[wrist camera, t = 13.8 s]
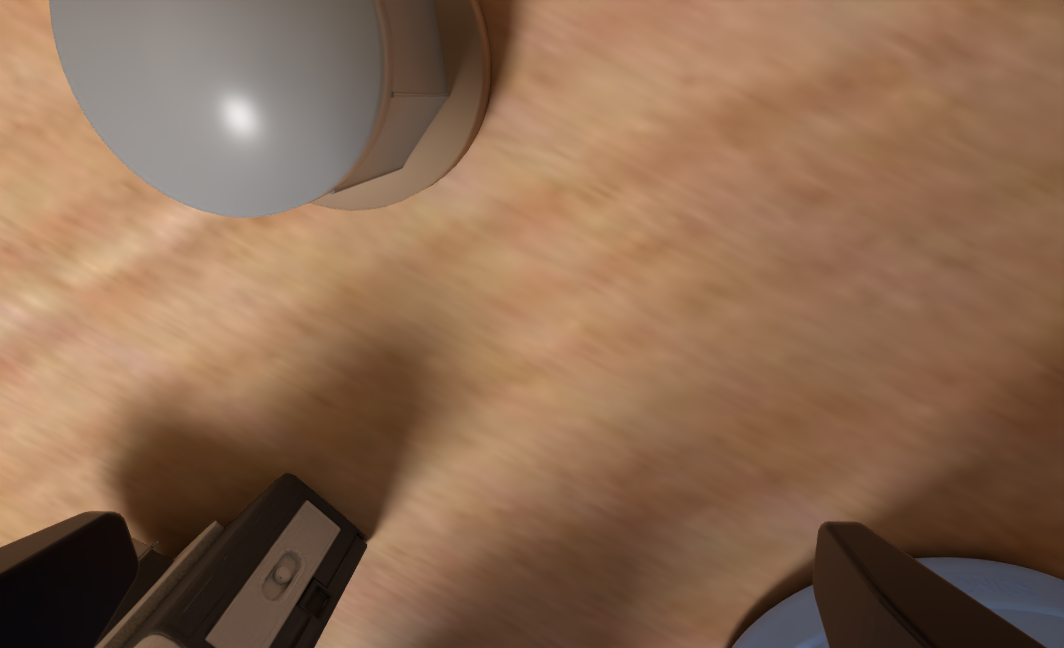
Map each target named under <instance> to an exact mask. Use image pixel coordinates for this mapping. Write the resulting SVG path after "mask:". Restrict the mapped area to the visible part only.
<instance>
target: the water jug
mask: <svg viewBox="0 0 1064 648" xmlns="http://www.w3.org/2000/svg"><path fill="white" fill-rule="evenodd" d="M914 559H916V560H917V561H918V562H920V563H921V564H923V565H924V566H926V567H927V568H929V569H930V570H932V571H933V572H935V573H936V574H938V575H939V576H941V577H942V578H944V579H945V580H947V581H948V582H950V583H951V584H953V585H954V586H956V587H957V588H959V589H960V590H962V591H963V592H965V593H966V594H968V595H969V596H971V597H972V598H974V599H975V600H977V601H978V602H980V603H981V604H983V605H984V606H986V607H987V608H989V609H990V610H992V611H993V612H995V613H996V614H998V615H999V616H1001V617H1002V618H1004V619H1005V620H1007V621H1008V622H1010V623H1011V624H1013V625H1014V626H1016V627H1017V628H1019V629H1020V630H1021V631H1023V632H1024V633H1026V634H1027V635H1029V636H1030V637H1032V638H1033V639H1035V640H1036V641H1038V642H1039V643H1041V644H1042V645H1044V646H1045V647H1047V648H1064V580H1061V579H1059V578H1056V577H1054V576H1051V575H1048V574H1045V573H1042V572H1039V571H1036V570H1032V569H1029V568H1025V567H1021V566H1017V565H1012V564H1008V563H1002V562H996V561H990V560H982V559H972V558H956V557H931V558H914ZM732 648H829V644H828V641H827V638H826V634H825V631H824V627H823V624H822V621H821V617H820V614H819V610H818V607H817V604H816V600H815V596H814V591H813V585H811V586H808V587H806V588H804V589H802V590H800V591H799V592H797V593H795V594H793V595H791V596H790V597H788V598H786V599H785V600H783V601H782V602H780V603H778V604H777V605H776V606H774V607H773V608H771V609H770V610H769V611H767V612H766V613H765V614H763V615H762V616H761V617H760V618H759V619H758V620H756V621H755V622H754V623H753V624H752V625H751V626H750V627H749V628H748V629H747V630H746V631H745V632H744V633H743V634H742V635H741V636H740V638H739V639H738V640H737V641H736V642H735V644H734V645H733V646H732Z"/></svg>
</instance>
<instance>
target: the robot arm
mask: <svg viewBox="0 0 1064 648" xmlns="http://www.w3.org/2000/svg"><path fill="white" fill-rule="evenodd" d="M138 571H139V558H138V555H137V552H136V550H135V547H134V544H133V541H132V538H131V535H130V533H129V530H128V527H127V524H126V521H125V519H124V518H123V517H122V516H121V515H120V514H119V513H116V512H112V511H89V512H84V513H81V514H79V515H76V516H74V517H71V518H69V519H67V520H64V521H62V522H60V523H57V524H55V525H52V526H50V527H48V528H45V529H43V530H41V531H38V532H36V533H33V534H31V535H29V536H26V537H24V538H22V539H19V540H17V541H14V542H12V543H10V544H7V545H5V546H3V547H0V648H95V646H96V644H97V643H98V641H99V639H100V638H101V636H102V634H103V633H104V631H105V630H106V628H107V626H108V625H109V623H110V621H111V620H112V618H113V616H114V615H115V613H116V611H117V610H118V608H119V606H120V605H121V603H122V601H123V600H124V598H125V596H126V595H127V593H128V592H129V590H130V588H131V587H132V585H133V583H134V581H135V580H136V577H137V575H138ZM813 591H814V596H815V600H816V604H817V607H818V610H819V614H820V617H821V621H822V624H823V627H824V631H825V634H826V638H827V641H828V644H829V648H1047V647H1045V646H1044V645H1042V644H1041V643H1039V642H1038V641H1036V640H1035V639H1033V638H1032V637H1030V636H1029V635H1027V634H1026V633H1024V632H1023V631H1021V630H1020V629H1019V628H1017V627H1016V626H1014V625H1013V624H1011V623H1010V622H1008V621H1007V620H1005V619H1004V618H1002V617H1001V616H999V615H998V614H996V613H995V612H993V611H992V610H990V609H989V608H987V607H986V606H984V605H983V604H981V603H980V602H978V601H977V600H975V599H974V598H972V597H971V596H969V595H968V594H966V593H965V592H963V591H962V590H960V589H959V588H957V587H956V586H954V585H953V584H951V583H950V582H948V581H947V580H945V579H944V578H942V577H941V576H939V575H938V574H936V573H935V572H933V571H932V570H930V569H929V568H927V567H926V566H924V565H923V564H921V563H920V562H918V561H917V560H916V559H914V558H913V557H911V556H910V555H908V554H907V553H905V552H904V551H902V550H901V549H899V548H898V547H896V546H895V545H893V544H892V543H890V542H889V541H887V540H886V539H884V538H883V537H881V536H880V535H878V534H877V533H875V532H874V531H872V530H871V529H869V528H868V527H866V526H865V525H863V524H861V523H858V522H837V521H827V522H824V523H823V524H822V525H821V526H820V528H819V531H818V537H817V545H816V554H815V562H814V571H813Z"/></svg>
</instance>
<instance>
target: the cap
mask: <svg viewBox="0 0 1064 648" xmlns="http://www.w3.org/2000/svg"><path fill="white" fill-rule="evenodd" d="M49 4H50V15H51V24H52V29H53V34H54V39H55V44H56V48H57V52H58V55H59V58H60V61H61V64H62V67H63V71H64V73H65V76H66V78H67V80H68V83H69V85H70V87H71V90H72V92H73V94H74V96H75V98H76V100H77V102H78V103H79V105H80V107H81V109H82V111H83V112H84V114H85V116H86V117H87V119H88V120H89V122H90V123H91V125H92V126H93V128H94V129H95V131H96V132H97V134H98V135H99V136H100V138H101V139H102V140H103V141H104V142H105V144H106V145H107V146H108V147H109V148H110V150H111V151H112V152H113V153H114V154H115V155H116V156H117V157H118V158H119V159H120V160H121V161H122V162H123V163H124V164H125V165H126V166H127V167H128V168H129V169H130V170H131V171H133V172H134V173H135V174H136V175H138V176H139V177H140V178H141V179H143V180H144V181H145V182H146V183H148V184H149V185H151V186H152V187H154V188H155V189H157V190H158V191H160V192H162V193H163V194H165V195H166V196H168V197H170V198H172V199H174V200H176V201H178V202H180V203H182V204H185V205H187V206H190V207H193V208H196V209H198V210H201V211H204V212H209V213H213V214H217V215H222V216H231V217H242V218H244V217H263V216H268V215H273V214H278V213H282V212H285V211H287V210H290V209H293V208H296V207H299V206H302V205H304V204H307V203H310V202H313V201H315V200H317V199H319V198H321V197H323V196H325V195H327V194H335V193H338V192H340V191H343V190H346V189H349V188H351V187H354V186H357V185H360V184H362V183H365V182H368V181H371V180H373V179H376V178H379V177H382V176H384V175H387V174H390V173H393V172H395V171H398V170H400V169H402V166H403V165H404V163H405V162H406V160H407V159H408V157H409V156H410V154H411V153H412V151H413V150H414V148H415V147H416V145H417V144H418V142H419V141H420V139H421V138H422V136H423V134H424V133H425V131H426V130H427V128H428V127H429V125H430V124H431V122H432V121H433V119H434V118H435V116H436V115H437V113H438V112H439V110H440V109H441V107H442V106H443V104H444V103H445V101H446V100H447V98H448V97H449V95H450V94H449V91H448V85H447V79H446V73H445V67H444V61H443V55H442V49H441V43H440V37H439V31H438V25H437V19H436V12H435V6H434V0H49Z"/></svg>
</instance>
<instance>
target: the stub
mask: <svg viewBox="0 0 1064 648" xmlns="http://www.w3.org/2000/svg"><path fill="white" fill-rule="evenodd" d="M434 6H435V12H436V19H437V25H438V31H439V37H440V43H441V49H442V55H443V61H444V67H445V73H446V79H447V85H448V91H449V94H450V95H449V97H448V98H447V100H446V101H445V103H444V104H443V106H442V107H441V109H440V110H439V112H438V113H437V115H436V116H435V118H434V119H433V121H432V122H431V124H430V125H429V127H428V128H427V130H426V131H425V133H424V134H423V136H422V138H421V139H420V141H419V142H418V144H417V145H416V147H415V148H414V150H413V151H412V153H411V154H410V156H409V157H408V159H407V160H406V162H405V163H404V165H403V166H402V169H400V170H398V171H395V172H393V173H390V174H387V175H384V176H382V177H379V178H376V179H373V180H371V181H368V182H365V183H362V184H360V185H357V186H354V187H351V188H349V189H346V190H343V191H340V192H338V193H335V194H327V195H325V196H323V197H321V198H319V199H317V200H315V201H313V202H310V203H312V204H315V205H318V206H323V207H327V208H332V209H339V210H350V211H354V210H370V209H375V208H381V207H386V206H389V205H392V204H394V203H397V202H400V201H403V200H405V199H406V198H408V197H410V196H412V195H414V194H416V193H418V192H420V191H422V190H424V189H426V188H428V187H430V186H431V185H433V184H434V183H436V182H437V181H438V180H440V179H441V178H443V177H444V176H445V175H446V174H447V173H448V172H449V171H451V170H452V169H453V168H454V167H455V166H456V165H457V163H458V162H459V161H460V160H461V158H462V157H463V156H464V155H465V154H466V152H467V151H468V149H469V147H470V146H471V144H472V142H473V141H474V139H475V137H476V135H477V133H478V131H479V128H480V126H481V124H482V121H483V118H484V115H485V111H486V108H487V105H488V99H489V93H490V87H491V70H492V62H491V50H490V42H489V37H488V32H487V27H486V23H485V20H484V17H483V14H482V10H481V7H480V5H479V2H478V0H434Z"/></svg>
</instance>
